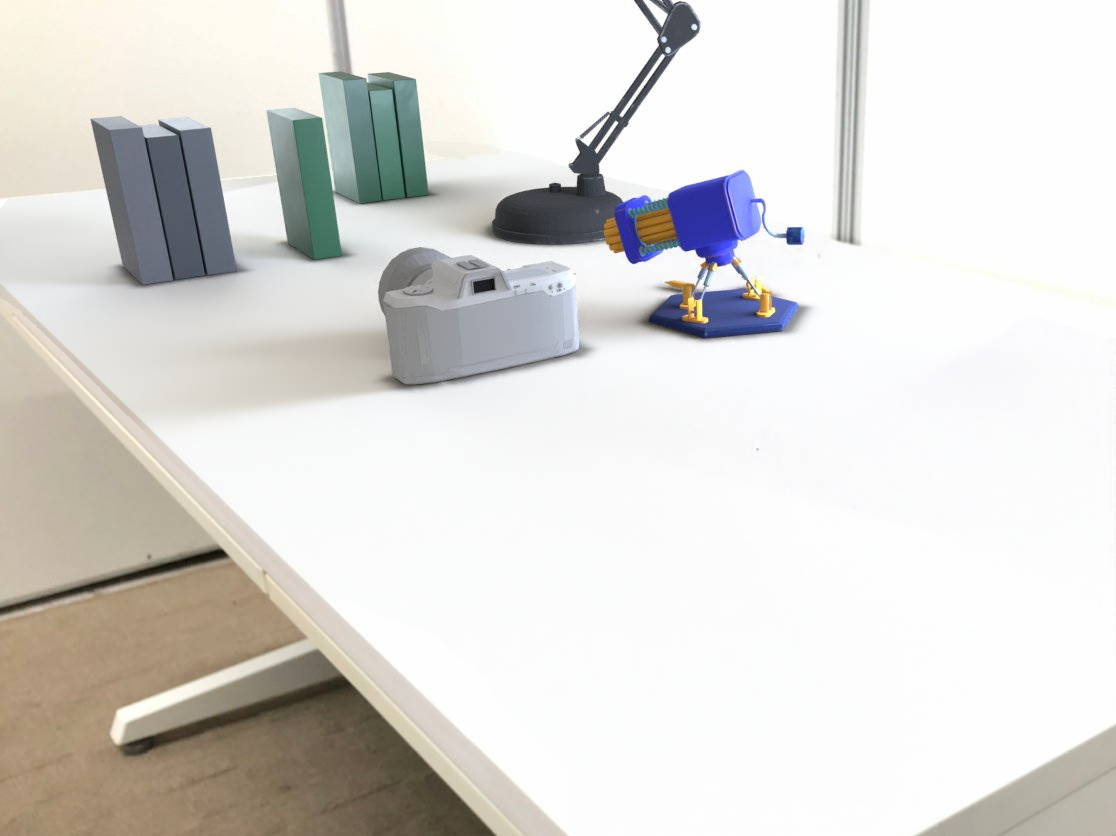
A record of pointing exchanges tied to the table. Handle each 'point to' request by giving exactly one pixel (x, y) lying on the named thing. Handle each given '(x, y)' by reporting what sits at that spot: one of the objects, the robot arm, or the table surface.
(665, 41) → the desk lamp
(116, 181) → the grey books
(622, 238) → the toy gatling gun
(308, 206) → the green book
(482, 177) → the table surface
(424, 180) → the green books
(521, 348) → the digital camera
